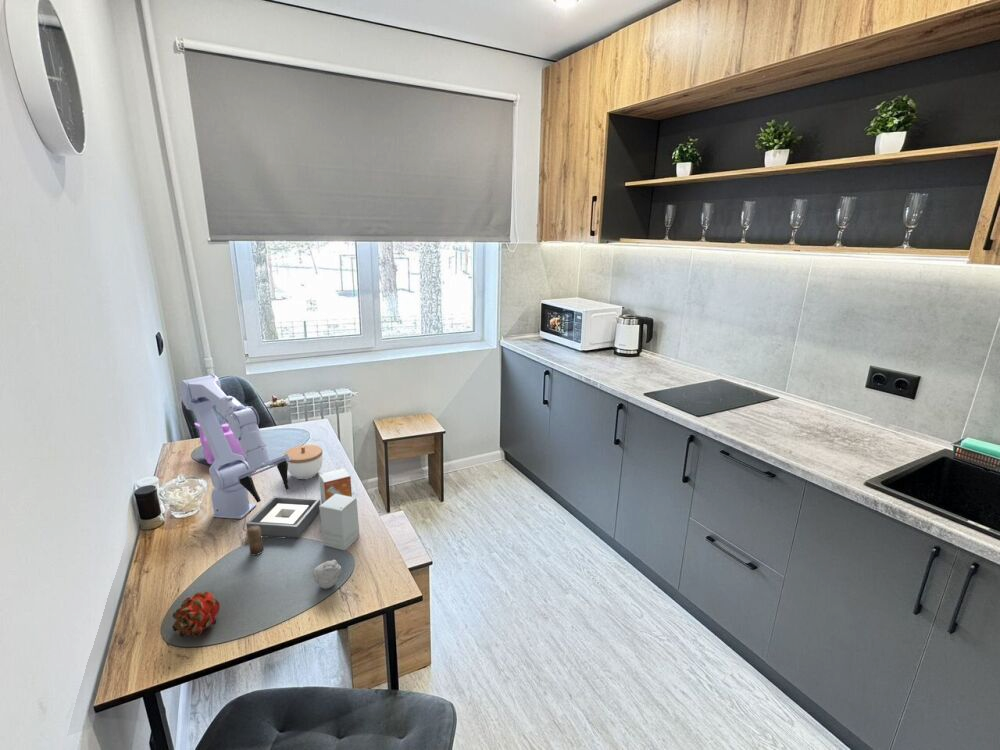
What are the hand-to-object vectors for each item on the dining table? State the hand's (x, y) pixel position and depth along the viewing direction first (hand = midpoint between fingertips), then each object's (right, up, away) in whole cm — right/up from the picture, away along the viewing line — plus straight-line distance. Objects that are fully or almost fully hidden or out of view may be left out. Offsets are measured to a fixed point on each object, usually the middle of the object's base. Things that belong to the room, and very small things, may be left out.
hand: (273, 495), depth 132 cm
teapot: (-44, +1, +53) cm, 69 cm away
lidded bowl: (-8, -3, +41) cm, 41 cm away
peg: (-4, -15, -1) cm, 16 cm away
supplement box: (+17, -14, +4) cm, 23 cm away
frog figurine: (+20, -19, -13) cm, 31 cm away
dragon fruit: (-4, -23, -26) cm, 35 cm away
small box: (+12, -10, +18) cm, 24 cm away
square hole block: (-2, -11, +12) cm, 17 cm away
